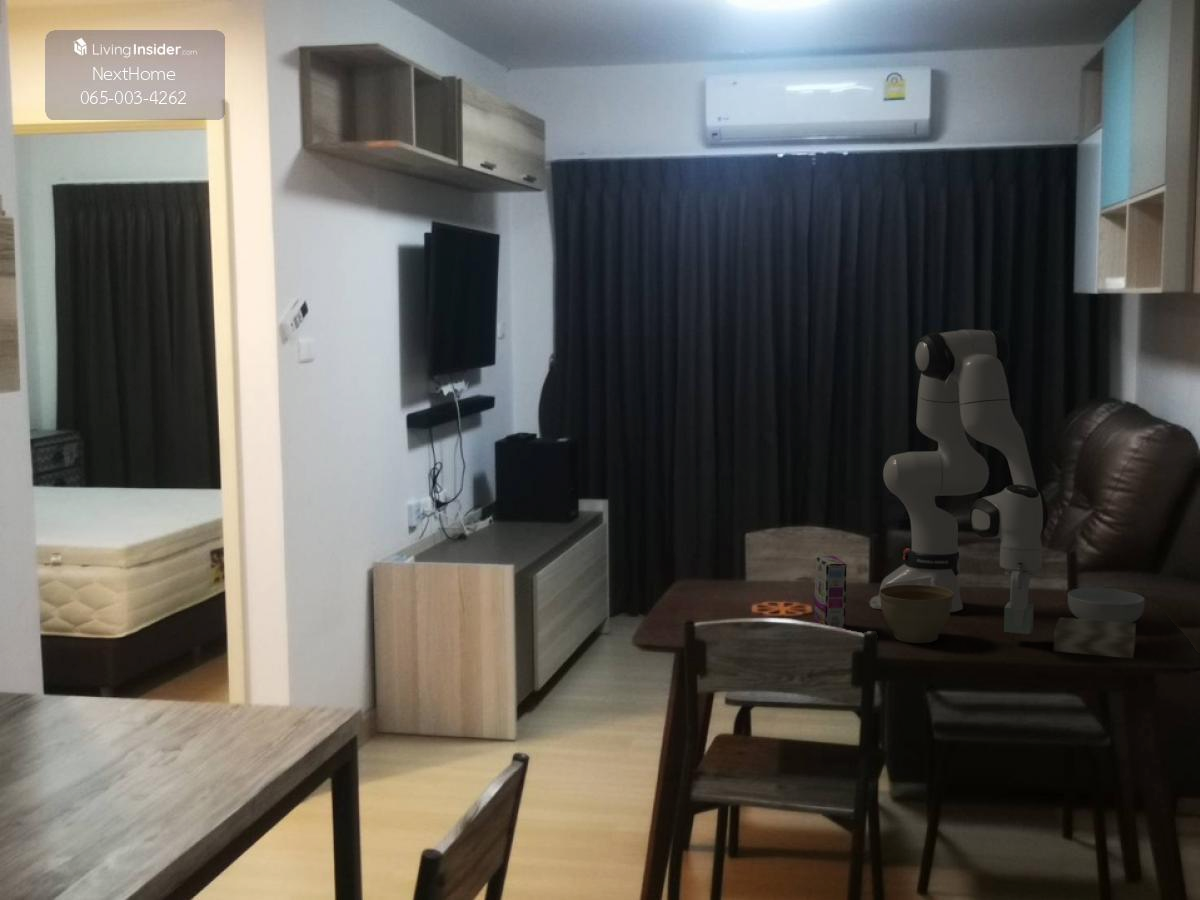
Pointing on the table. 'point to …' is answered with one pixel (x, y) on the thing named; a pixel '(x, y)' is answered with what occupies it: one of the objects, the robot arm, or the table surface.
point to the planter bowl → (916, 611)
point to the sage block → (1027, 620)
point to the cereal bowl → (1105, 604)
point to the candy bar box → (830, 591)
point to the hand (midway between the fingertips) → (1018, 620)
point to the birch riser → (1095, 637)
